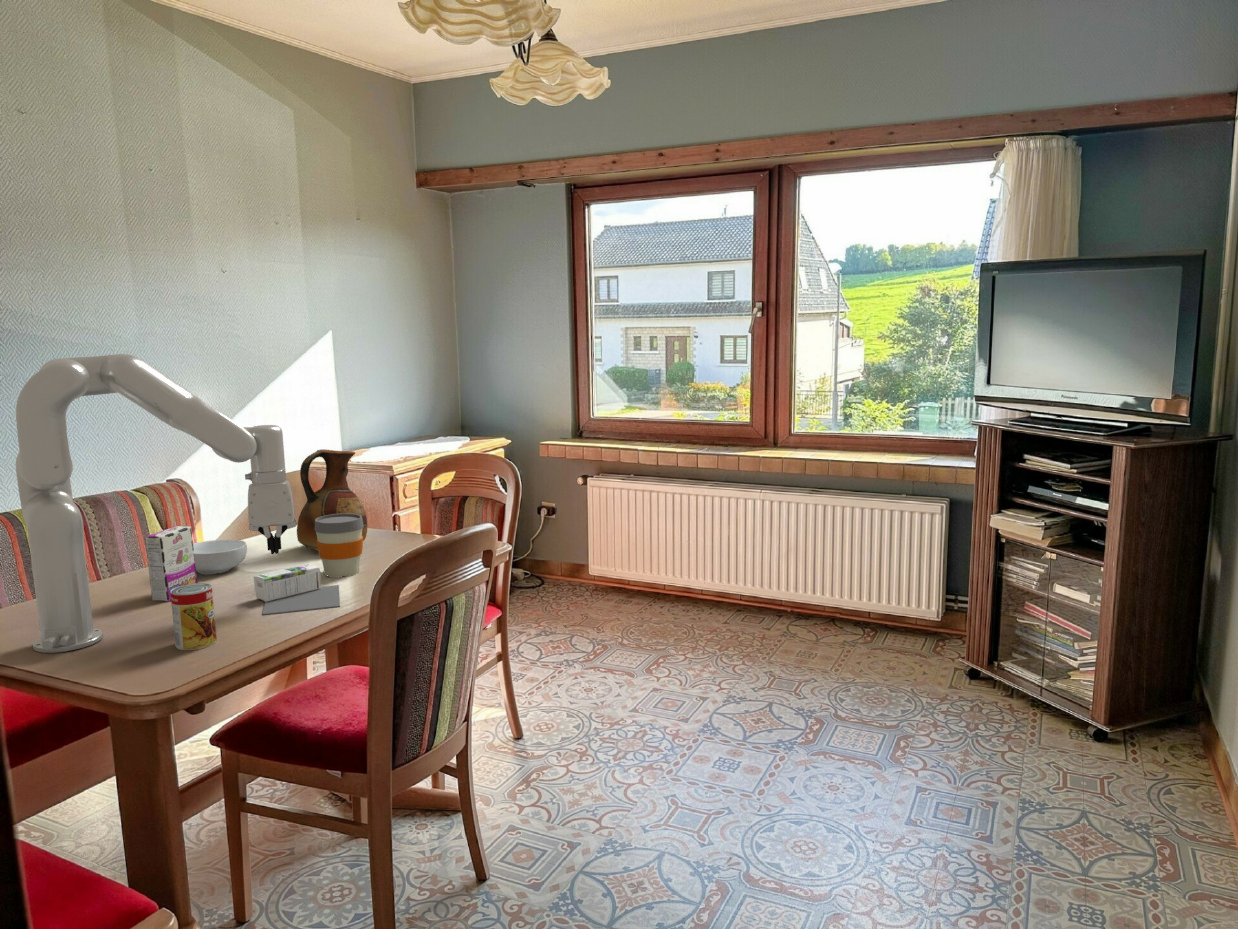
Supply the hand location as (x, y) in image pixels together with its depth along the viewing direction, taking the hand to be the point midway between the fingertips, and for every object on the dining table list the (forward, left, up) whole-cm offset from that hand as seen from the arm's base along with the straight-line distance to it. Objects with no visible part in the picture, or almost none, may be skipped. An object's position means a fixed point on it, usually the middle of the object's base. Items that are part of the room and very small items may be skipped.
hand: (274, 552), depth 212 cm
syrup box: (+1, +4, -9) cm, 10 cm away
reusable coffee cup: (+21, -15, -12) cm, 29 cm away
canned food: (-25, +15, -12) cm, 32 cm away
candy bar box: (+15, +25, -12) cm, 32 cm away
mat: (-1, -5, -12) cm, 13 cm away
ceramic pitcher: (+50, -13, -12) cm, 53 cm away
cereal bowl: (+36, +18, -12) cm, 42 cm away
